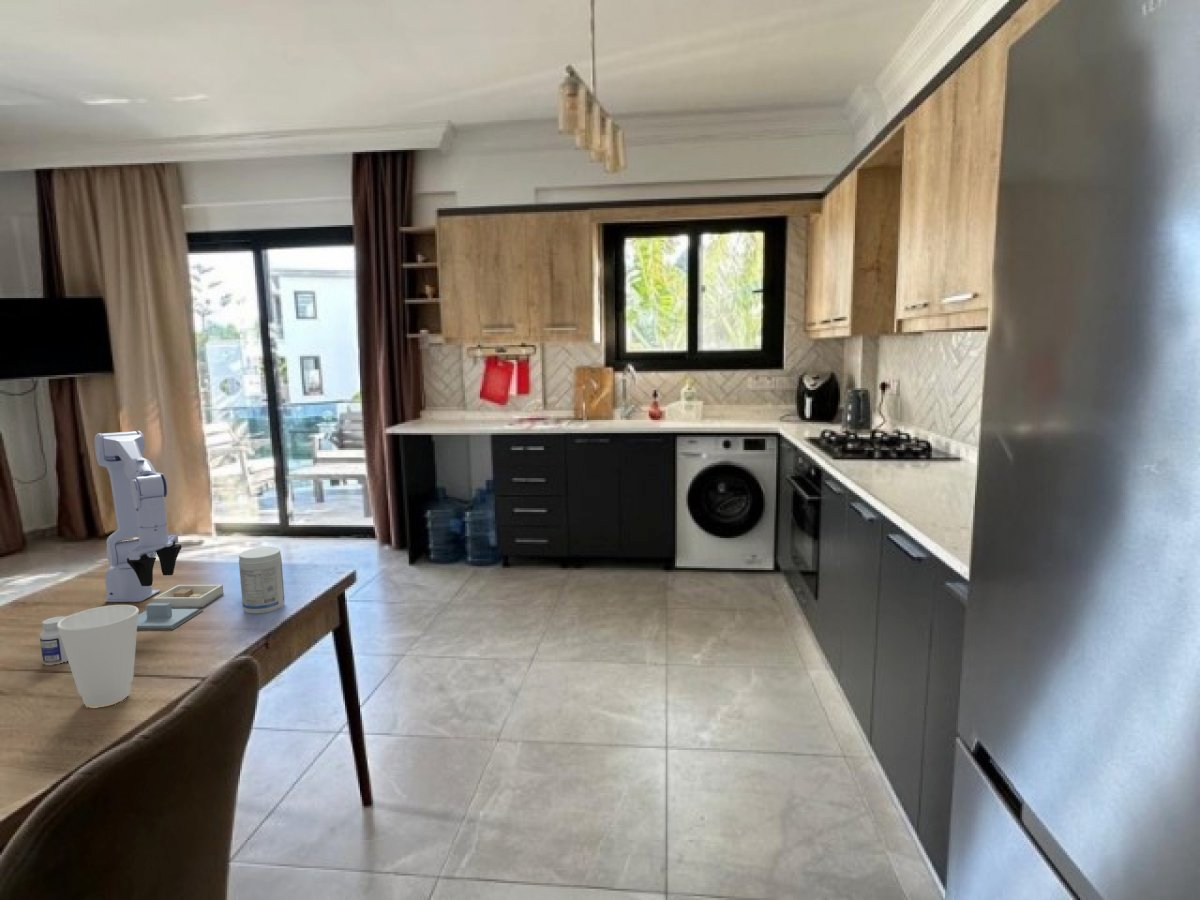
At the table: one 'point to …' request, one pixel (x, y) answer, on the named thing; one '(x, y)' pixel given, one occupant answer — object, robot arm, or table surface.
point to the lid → (162, 616)
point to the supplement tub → (261, 580)
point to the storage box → (190, 595)
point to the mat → (174, 626)
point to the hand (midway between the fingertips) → (157, 580)
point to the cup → (101, 651)
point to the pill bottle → (52, 642)
